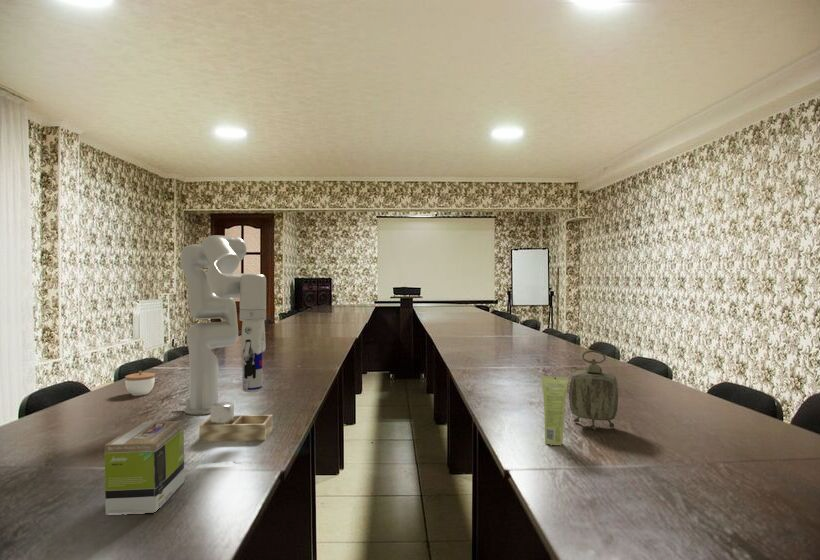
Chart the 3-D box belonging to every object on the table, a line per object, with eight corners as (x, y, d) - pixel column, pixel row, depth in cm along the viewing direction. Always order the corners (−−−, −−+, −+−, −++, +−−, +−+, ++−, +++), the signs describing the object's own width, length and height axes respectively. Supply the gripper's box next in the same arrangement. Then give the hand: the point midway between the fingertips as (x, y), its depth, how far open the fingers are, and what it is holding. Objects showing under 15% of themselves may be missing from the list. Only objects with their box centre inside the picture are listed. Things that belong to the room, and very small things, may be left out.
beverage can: (256, 393, 133) (256, 342, 133) (238, 392, 135) (238, 341, 135) (265, 389, 139) (266, 339, 139) (249, 388, 140) (249, 339, 140)
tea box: (140, 483, 106) (141, 420, 106) (185, 482, 107) (186, 419, 107) (103, 517, 91) (103, 443, 91) (155, 515, 92) (155, 441, 92)
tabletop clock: (618, 427, 149) (618, 350, 149) (617, 435, 141) (618, 354, 141) (571, 421, 155) (571, 347, 155) (568, 429, 147) (568, 350, 147)
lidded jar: (147, 389, 197) (147, 367, 197) (159, 393, 191) (160, 370, 191) (120, 394, 188) (120, 371, 188) (132, 398, 182) (132, 374, 182)
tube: (555, 439, 137) (555, 373, 137) (568, 444, 133) (568, 377, 133) (540, 442, 135) (541, 375, 135) (553, 447, 130) (553, 379, 130)
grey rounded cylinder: (207, 439, 133) (207, 408, 133) (214, 432, 139) (215, 402, 139) (229, 438, 134) (229, 407, 134) (236, 431, 140) (236, 402, 140)
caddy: (199, 444, 131) (199, 425, 131) (211, 433, 141) (211, 415, 141) (264, 443, 133) (265, 424, 133) (272, 432, 142) (272, 414, 142)
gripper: (258, 317, 129) (258, 382, 129) (272, 313, 146) (272, 370, 146) (231, 317, 128) (230, 382, 128) (248, 313, 145) (247, 370, 145)
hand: (252, 375), depth 137 cm, fingers closed on beverage can, 4 cm apart
